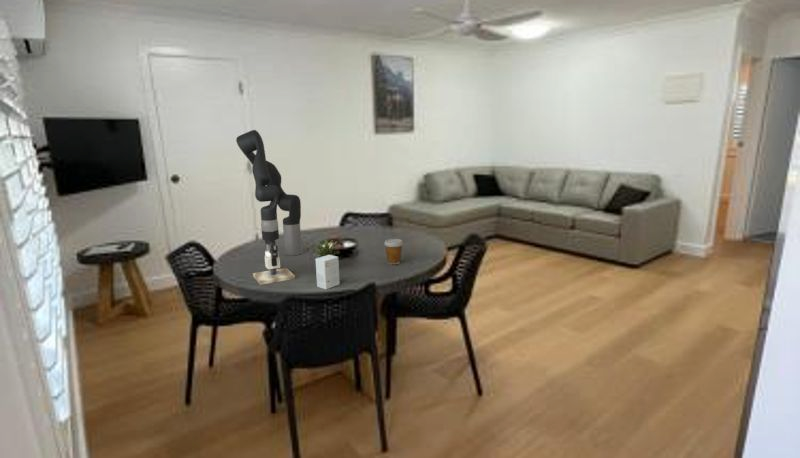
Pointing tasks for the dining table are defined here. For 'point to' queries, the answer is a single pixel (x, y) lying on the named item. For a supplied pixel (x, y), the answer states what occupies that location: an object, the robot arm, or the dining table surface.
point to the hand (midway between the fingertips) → (272, 263)
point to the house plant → (326, 249)
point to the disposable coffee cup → (393, 250)
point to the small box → (327, 271)
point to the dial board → (273, 276)
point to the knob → (268, 261)
